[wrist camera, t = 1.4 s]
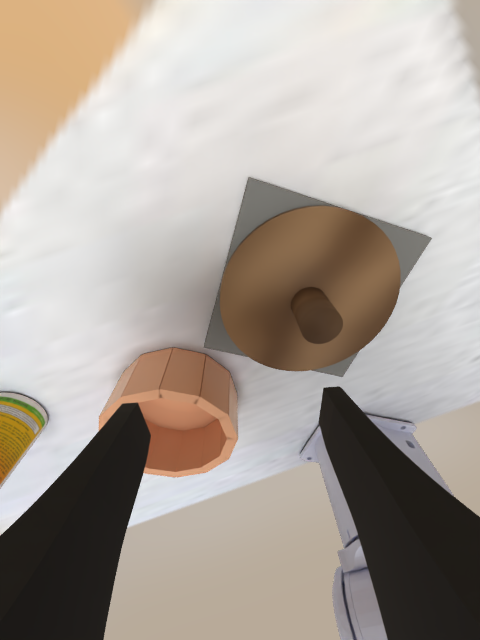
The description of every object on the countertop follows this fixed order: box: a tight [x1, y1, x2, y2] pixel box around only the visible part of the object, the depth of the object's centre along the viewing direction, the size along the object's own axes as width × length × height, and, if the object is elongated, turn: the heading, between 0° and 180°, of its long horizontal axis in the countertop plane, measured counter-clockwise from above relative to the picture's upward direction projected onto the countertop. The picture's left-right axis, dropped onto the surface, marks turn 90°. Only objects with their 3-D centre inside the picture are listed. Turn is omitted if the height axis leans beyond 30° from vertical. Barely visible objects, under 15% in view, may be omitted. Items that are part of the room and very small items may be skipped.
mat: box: [204, 178, 432, 377], centre depth 18 cm, size 12×12×1 cm
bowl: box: [99, 348, 238, 477], centre depth 21 cm, size 10×10×4 cm
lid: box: [220, 205, 401, 371], centre depth 16 cm, size 12×12×4 cm
